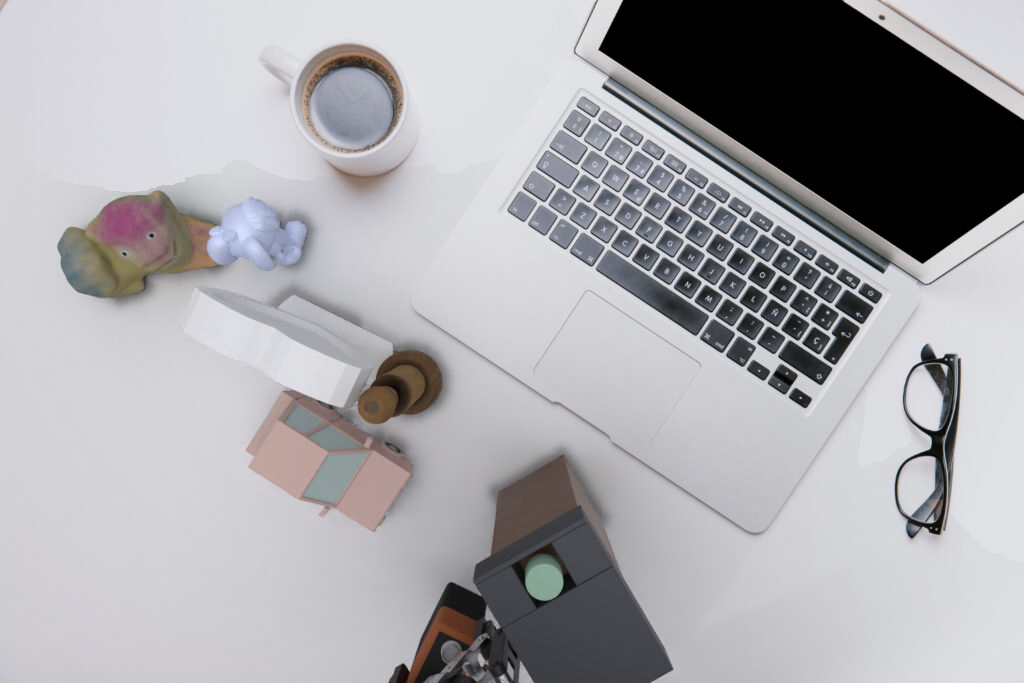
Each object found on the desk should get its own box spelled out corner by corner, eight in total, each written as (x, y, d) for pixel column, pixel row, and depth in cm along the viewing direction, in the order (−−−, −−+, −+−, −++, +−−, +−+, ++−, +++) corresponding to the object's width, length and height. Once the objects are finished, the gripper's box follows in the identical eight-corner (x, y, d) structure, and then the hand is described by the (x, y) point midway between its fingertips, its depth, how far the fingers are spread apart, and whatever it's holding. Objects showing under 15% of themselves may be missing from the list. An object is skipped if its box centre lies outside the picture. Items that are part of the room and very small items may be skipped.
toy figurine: (318, 215, 69) (276, 197, 57) (311, 277, 70) (267, 272, 58) (253, 206, 69) (196, 186, 57) (245, 267, 70) (188, 260, 58)
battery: (419, 639, 66) (399, 698, 56) (449, 578, 65) (435, 627, 55) (459, 658, 66) (447, 721, 56) (489, 597, 65) (482, 650, 55)
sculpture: (109, 316, 70) (40, 318, 60) (74, 241, 70) (-1, 231, 60) (235, 259, 70) (187, 252, 60) (200, 183, 69) (146, 163, 59)
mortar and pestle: (373, 403, 70) (322, 437, 52) (387, 343, 70) (340, 357, 52) (434, 418, 70) (404, 457, 52) (448, 358, 70) (423, 377, 52)
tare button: (568, 577, 48) (570, 589, 46) (536, 595, 48) (537, 608, 46) (550, 546, 47) (551, 557, 45) (518, 564, 48) (518, 575, 46)
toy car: (379, 526, 71) (356, 563, 61) (258, 449, 71) (214, 473, 61) (427, 453, 71) (411, 479, 61) (304, 375, 70) (268, 387, 60)
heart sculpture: (409, 351, 69) (363, 363, 51) (388, 395, 70) (335, 421, 52) (276, 286, 70) (184, 275, 52) (256, 329, 70) (157, 333, 52)
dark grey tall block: (622, 545, 71) (674, 670, 47) (549, 587, 71) (562, 731, 47) (562, 444, 70) (584, 517, 46) (489, 486, 71) (472, 580, 47)
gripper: (351, 880, 43) (399, 724, 60) (541, 776, 43) (537, 647, 59) (291, 783, 43) (356, 653, 60) (481, 676, 43) (494, 574, 59)
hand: (446, 650), depth 59 cm, fingers closed on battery, 8 cm apart
